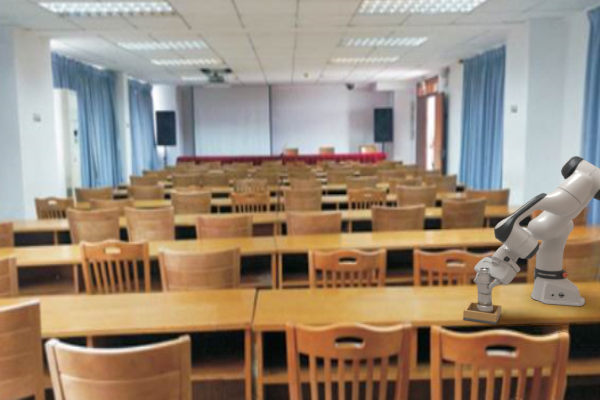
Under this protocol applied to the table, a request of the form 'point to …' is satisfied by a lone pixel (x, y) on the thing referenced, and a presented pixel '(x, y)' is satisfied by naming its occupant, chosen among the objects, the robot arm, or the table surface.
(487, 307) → the plastic bottle
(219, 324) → the table surface
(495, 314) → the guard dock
